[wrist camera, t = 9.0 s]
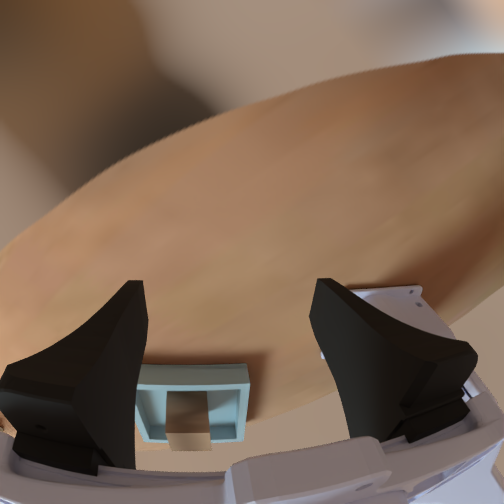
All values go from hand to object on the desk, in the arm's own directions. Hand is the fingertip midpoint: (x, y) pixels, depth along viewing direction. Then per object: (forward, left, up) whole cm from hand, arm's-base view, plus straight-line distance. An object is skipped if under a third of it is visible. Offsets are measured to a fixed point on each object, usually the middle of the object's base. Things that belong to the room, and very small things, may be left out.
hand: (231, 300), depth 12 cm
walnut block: (+3, +20, -9) cm, 22 cm away
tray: (+3, +20, -9) cm, 22 cm away
